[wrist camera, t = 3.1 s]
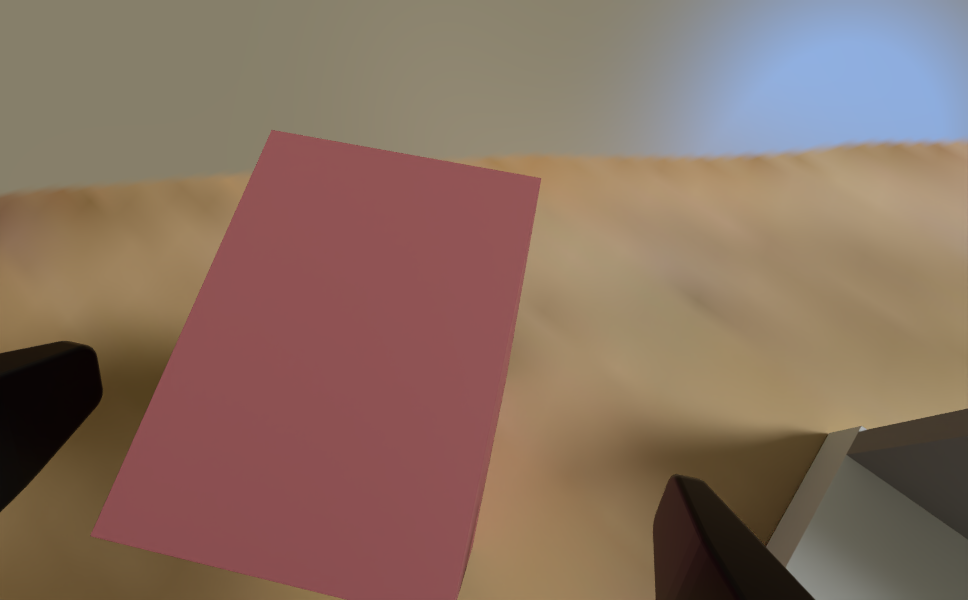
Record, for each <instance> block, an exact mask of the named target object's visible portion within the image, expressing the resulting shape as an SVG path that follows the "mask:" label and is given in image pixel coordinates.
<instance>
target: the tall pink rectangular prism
mask: <svg viewBox="0 0 968 600" xmlns="http://www.w3.org/2000/svg"><path fill="white" fill-rule="evenodd" d="M540 183H541V178H537V177H531V176H526V175H520V174H514V173H509V172H503V171H498V170H492V169H487V168H481V167H475V166H470V165H464V164H459V163H453V162H448V161H442V160H436V159H431V158H425V157H420V156H414V155H408V154H403V153H397V152H391V151H386V150H381V149H375V148H370V147H364V146H358V145H352V144H347V143H342V142H336V141H331V140H324V139H319V138H314V137H308V136H303V135H297V134H291V133H286V132H280V131H275V130H272V131H271V133H270V135H269V137H268V140H267V142H266V144H265V146H264V149H263V151H262V153H261V155H260V157H259V160H258V162H257V164H256V166H255V169H254V171H253V173H252V175H251V178H250V180H249V182H248V184H247V187H246V189H245V191H244V193H243V196H242V198H241V200H240V202H239V204H238V207H237V209H236V211H235V213H234V216H233V218H232V220H231V222H230V225H229V227H228V229H227V231H226V234H225V236H224V238H223V240H222V242H221V245H220V247H219V249H218V251H217V254H216V256H215V258H214V260H213V263H212V265H211V267H210V269H209V272H208V274H207V276H206V278H205V280H204V283H203V285H202V287H201V289H200V292H199V294H198V296H197V298H196V301H195V303H194V305H193V307H192V310H191V312H190V314H189V316H188V318H187V321H186V323H185V325H184V327H183V330H182V332H181V334H180V336H179V339H178V341H177V343H176V345H175V348H174V350H173V352H172V354H171V357H170V359H169V361H168V363H167V365H166V368H165V370H164V372H163V374H162V377H161V379H160V381H159V383H158V386H157V388H156V390H155V392H154V395H153V397H152V399H151V401H150V403H149V406H148V408H147V410H146V412H145V415H144V417H143V419H142V421H141V424H140V426H139V428H138V430H137V433H136V435H135V437H134V439H133V441H132V444H131V446H130V448H129V450H128V453H127V455H126V457H125V459H124V462H123V464H122V466H121V468H120V471H119V473H118V475H117V477H116V480H115V482H114V484H113V486H112V488H111V491H110V493H109V495H108V497H107V500H106V502H105V504H104V506H103V509H102V511H101V513H100V515H99V518H98V520H97V522H96V524H95V526H94V529H93V531H92V533H91V535H90V536H92V537H96V538H100V539H104V540H108V541H112V542H116V543H120V544H124V545H128V546H132V547H136V548H140V549H144V550H148V551H152V552H156V553H160V554H165V555H169V556H173V557H177V558H181V559H185V560H189V561H193V562H197V563H201V564H205V565H209V566H213V567H217V568H221V569H225V570H229V571H233V572H237V573H241V574H245V575H249V576H253V577H258V578H262V579H266V580H270V581H274V582H278V583H282V584H286V585H290V586H294V587H298V588H302V589H306V590H310V591H314V592H318V593H322V594H326V595H330V596H334V597H338V598H342V599H346V600H457V598H458V595H459V591H460V588H461V584H462V581H463V577H464V574H465V570H466V567H467V564H468V560H469V557H470V553H471V550H472V546H473V541H474V536H475V531H476V526H477V521H478V516H479V511H480V506H481V501H482V496H483V491H484V486H485V481H486V476H487V471H488V466H489V461H490V456H491V451H492V446H493V441H494V436H495V431H496V426H497V421H498V416H499V411H500V406H501V401H502V396H503V391H504V386H505V381H506V376H507V370H508V365H509V359H510V353H511V348H512V342H513V336H514V331H515V325H516V319H517V313H518V308H519V302H520V296H521V291H522V285H523V279H524V274H525V268H526V262H527V257H528V251H529V245H530V240H531V234H532V228H533V222H534V217H535V211H536V205H537V200H538V194H539V188H540Z"/></svg>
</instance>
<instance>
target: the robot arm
mask: <svg viewBox="0 0 968 600" xmlns="http://www.w3.org/2000/svg"><path fill="white" fill-rule="evenodd" d="M102 393H103V387H102V381H101V376H100V370H99V364H98V359H97V354H96V352H95V351H94V349H93V348H92V347H90V346H88V345H84V344H79V343H75V342H70V341H59V342H54V343H49V344H44V345H39V346H34V347H30V348H25V349H20V350H15V351H10V352H5V353H0V512H1V511H2V510H3V509H4V508H5V507H6V506H7V505H8V504H9V503H10V502H11V501H12V500H13V499H14V498H15V497H16V496H17V495H18V494H19V493H20V492H21V491H22V490H23V489H24V488H25V487H26V486H27V485H28V484H29V483H30V482H31V481H32V480H33V479H34V477H35V476H36V475H37V474H38V473H39V472H40V471H41V470H42V469H43V467H44V466H45V465H46V464H47V463H48V462H49V460H50V459H51V458H52V457H53V456H54V455H55V454H56V452H57V451H58V450H59V449H60V448H61V447H62V446H63V444H64V443H65V442H66V441H67V440H68V439H69V438H70V436H71V435H72V434H73V433H74V432H75V431H76V430H77V428H78V427H79V426H80V425H81V424H82V423H83V422H84V420H85V419H86V418H87V417H88V416H89V415H90V414H91V412H92V411H93V410H94V409H95V408H96V407H97V405H98V404H99V402H100V400H101V397H102ZM653 544H654V568H655V592H656V600H815V599H814V597H813V596H812V595H811V594H810V593H809V592H808V591H807V590H806V589H805V588H804V587H803V586H802V585H801V584H800V583H799V582H798V580H797V579H796V578H795V577H794V576H793V575H792V574H791V573H790V572H789V571H788V570H787V569H786V568H785V567H784V566H783V565H782V564H781V562H780V561H779V560H778V559H777V558H776V557H775V556H774V555H773V554H772V553H771V552H770V551H769V550H768V549H767V548H766V547H765V546H764V544H763V543H762V542H761V541H760V540H759V539H758V538H757V537H756V536H755V535H754V534H753V533H752V532H751V531H750V530H749V529H748V527H747V526H746V525H745V524H744V523H743V522H742V521H741V520H740V519H739V518H738V517H737V516H736V515H735V514H734V513H733V512H732V511H731V509H730V508H729V507H728V506H727V505H726V504H725V503H724V502H723V501H722V500H721V499H720V498H719V497H718V496H717V495H716V494H715V493H714V491H713V490H712V489H711V488H710V487H709V486H708V485H707V484H706V483H705V482H704V481H702V480H700V479H697V478H693V477H688V476H684V475H679V474H675V475H673V476H671V478H670V479H669V481H668V483H667V485H666V488H665V491H664V493H663V496H662V499H661V501H660V504H659V506H658V509H657V512H656V514H655V518H654V524H653Z"/></svg>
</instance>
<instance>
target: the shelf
mask: <svg viewBox="0 0 968 600" xmlns="http://www.w3.org/2000/svg"><path fill="white" fill-rule="evenodd" d="M766 548H767V549H768V550H769V551H770V552H771V553H772V554H773V555H774V556H775V557H776V558H777V559H778V560H779V561H780V562H781V564H782V565H783V566H784V567H785V568H786V569H787V570H788V571H789V572H790V573H791V574H792V575H793V576H794V577H795V578H796V579H797V580H798V582H799V583H800V584H801V585H802V586H803V587H804V588H805V589H806V590H807V591H808V592H809V593H810V594H811V595H812V596H813V597H814V599H815V600H968V409H964V410H959V411H954V412H950V413H945V414H940V415H935V416H931V417H926V418H921V419H916V420H911V421H907V422H902V423H897V424H892V425H888V426H883V427H878V428H873V429H869V430H867V429H865V428H864V427H862V426H859V427H855V428H850V429H846V430H841V431H837V432H832V433H829V434H828V436H827V438H826V440H825V442H824V443H823V445H822V447H821V449H820V451H819V452H818V454H817V456H816V458H815V460H814V461H813V463H812V465H811V467H810V469H809V470H808V472H807V474H806V476H805V478H804V479H803V481H802V483H801V485H800V487H799V488H798V490H797V492H796V494H795V496H794V497H793V499H792V501H791V503H790V505H789V506H788V508H787V510H786V512H785V514H784V515H783V517H782V519H781V521H780V523H779V524H778V526H777V528H776V530H775V532H774V533H773V535H772V537H771V539H770V541H769V542H768V544H767V546H766Z"/></svg>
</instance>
